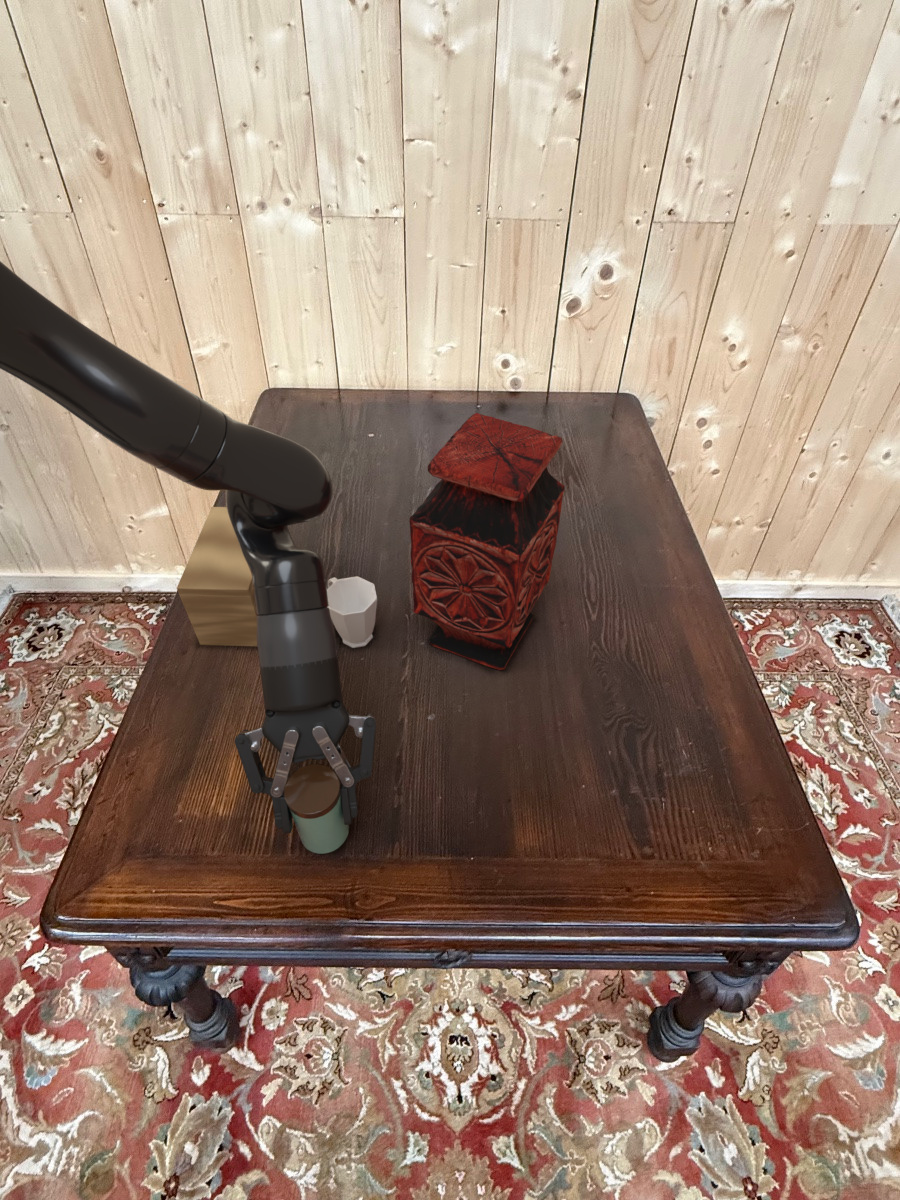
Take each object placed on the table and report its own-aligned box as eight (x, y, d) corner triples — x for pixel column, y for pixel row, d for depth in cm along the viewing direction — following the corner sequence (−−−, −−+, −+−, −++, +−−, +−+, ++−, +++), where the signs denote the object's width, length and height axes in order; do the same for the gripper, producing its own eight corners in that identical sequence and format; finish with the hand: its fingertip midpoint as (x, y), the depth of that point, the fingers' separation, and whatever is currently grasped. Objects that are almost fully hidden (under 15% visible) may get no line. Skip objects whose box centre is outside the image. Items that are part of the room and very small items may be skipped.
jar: (325, 864, 71) (312, 824, 64) (288, 835, 73) (272, 793, 66) (359, 824, 73) (350, 782, 67) (323, 797, 76) (311, 754, 69)
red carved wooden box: (508, 687, 88) (524, 501, 66) (414, 650, 93) (400, 464, 71) (547, 615, 97) (574, 429, 75) (460, 584, 101) (460, 400, 79)
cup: (347, 664, 91) (339, 623, 85) (312, 617, 97) (302, 577, 91) (392, 640, 94) (388, 599, 88) (356, 597, 99) (349, 555, 94)
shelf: (266, 646, 93) (248, 589, 85) (200, 645, 93) (176, 588, 85) (289, 564, 104) (275, 507, 96) (230, 563, 104) (211, 506, 96)
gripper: (215, 671, 63) (237, 852, 64) (371, 651, 65) (392, 829, 65) (231, 662, 71) (251, 824, 71) (371, 645, 72) (390, 804, 73)
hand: (318, 825), depth 68 cm, fingers closed on jar, 5 cm apart
